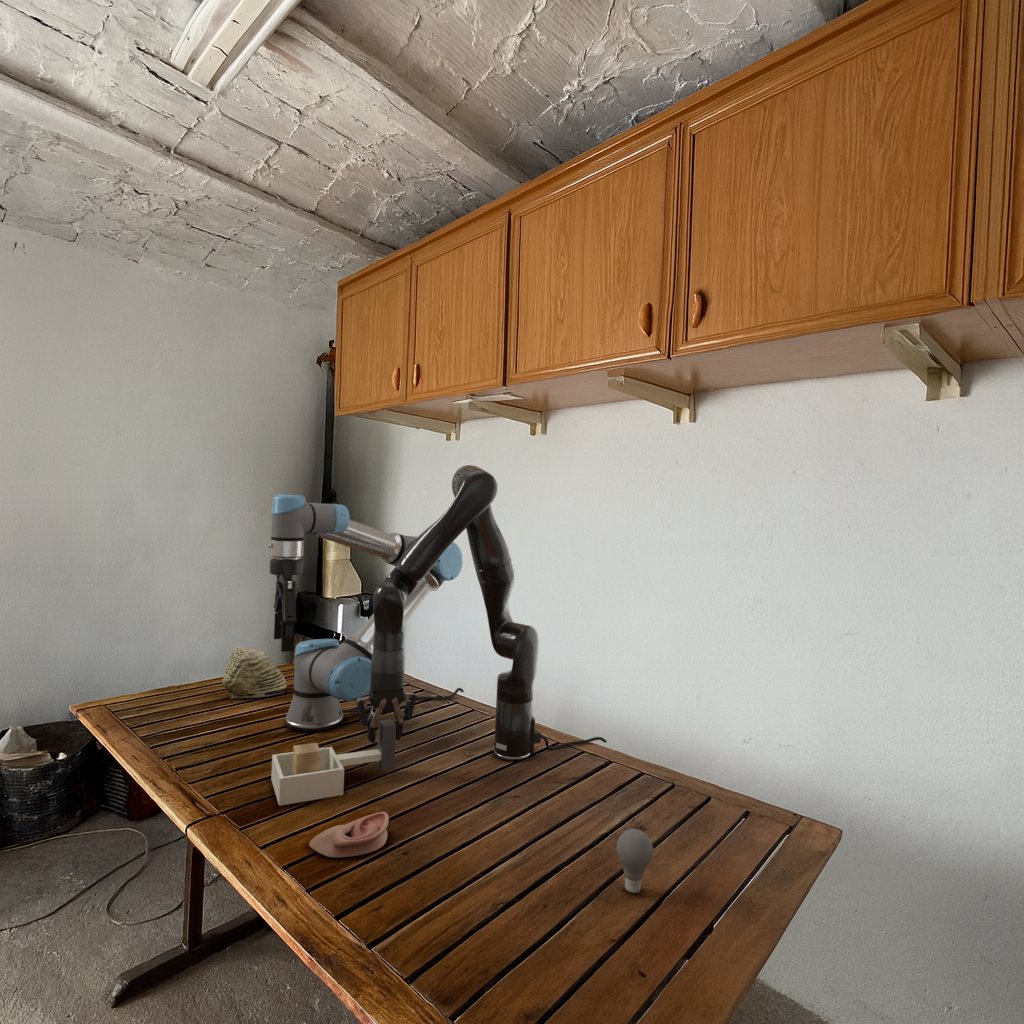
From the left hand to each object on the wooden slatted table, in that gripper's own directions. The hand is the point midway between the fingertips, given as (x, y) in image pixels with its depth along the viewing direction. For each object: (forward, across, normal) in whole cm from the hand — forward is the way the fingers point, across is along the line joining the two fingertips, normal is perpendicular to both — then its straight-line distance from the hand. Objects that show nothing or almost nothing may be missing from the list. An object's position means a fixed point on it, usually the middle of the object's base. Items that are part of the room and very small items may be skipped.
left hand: (283, 644), depth 154 cm
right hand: (+19, +21, +20) cm, 34 cm away
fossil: (+27, -49, -1) cm, 56 cm away
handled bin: (+27, +21, +9) cm, 35 cm away
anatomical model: (+27, +46, +6) cm, 54 cm away
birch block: (+26, +21, +3) cm, 33 cm away
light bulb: (+27, +79, +46) cm, 95 cm away
